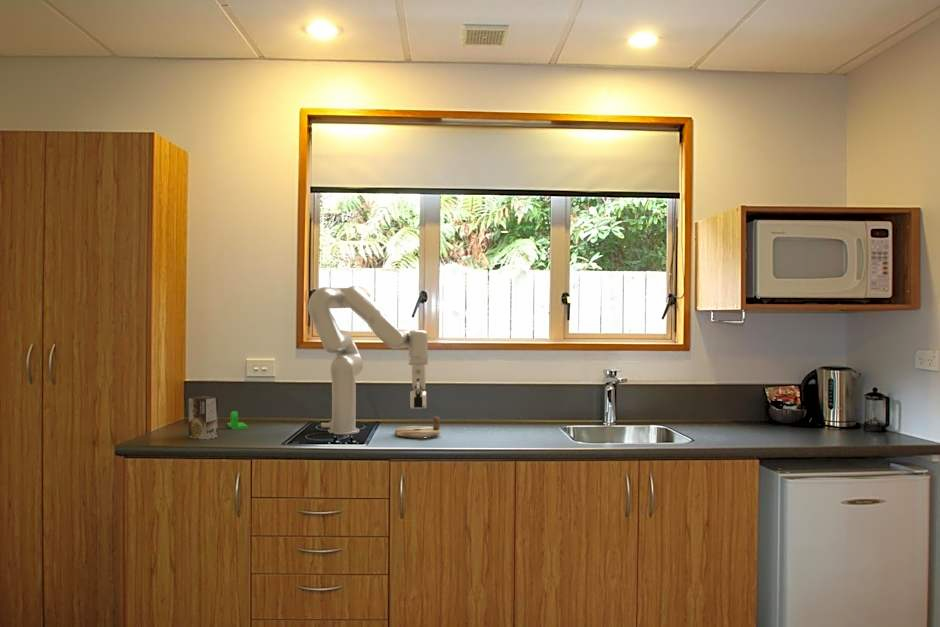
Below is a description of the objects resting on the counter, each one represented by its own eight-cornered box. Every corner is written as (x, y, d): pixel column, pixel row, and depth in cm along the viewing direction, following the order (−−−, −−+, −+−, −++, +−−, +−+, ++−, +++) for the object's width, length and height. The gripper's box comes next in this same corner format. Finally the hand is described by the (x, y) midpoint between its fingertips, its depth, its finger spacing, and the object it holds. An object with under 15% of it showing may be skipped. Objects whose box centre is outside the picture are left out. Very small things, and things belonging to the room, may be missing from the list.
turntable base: (401, 438, 278) (401, 436, 278) (402, 433, 290) (402, 431, 290) (432, 438, 279) (432, 436, 279) (432, 433, 291) (432, 431, 291)
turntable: (387, 431, 288) (387, 415, 288) (427, 428, 297) (427, 412, 297) (406, 438, 272) (406, 421, 272) (448, 434, 281) (448, 418, 281)
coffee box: (218, 438, 275) (218, 397, 275) (205, 441, 269) (206, 398, 269) (200, 437, 279) (201, 395, 279) (187, 439, 273) (188, 397, 273)
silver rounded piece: (426, 408, 281) (426, 392, 281) (409, 408, 281) (409, 392, 281) (426, 406, 288) (426, 390, 288) (410, 406, 288) (410, 390, 288)
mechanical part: (247, 430, 296) (248, 411, 296) (232, 431, 293) (233, 412, 293) (241, 426, 306) (242, 407, 306) (227, 427, 303) (227, 408, 303)
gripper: (427, 362, 276) (427, 408, 276) (427, 359, 293) (427, 403, 293) (408, 362, 276) (408, 409, 276) (409, 359, 293) (409, 403, 293)
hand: (418, 405), depth 284 cm, fingers closed on silver rounded piece, 6 cm apart
